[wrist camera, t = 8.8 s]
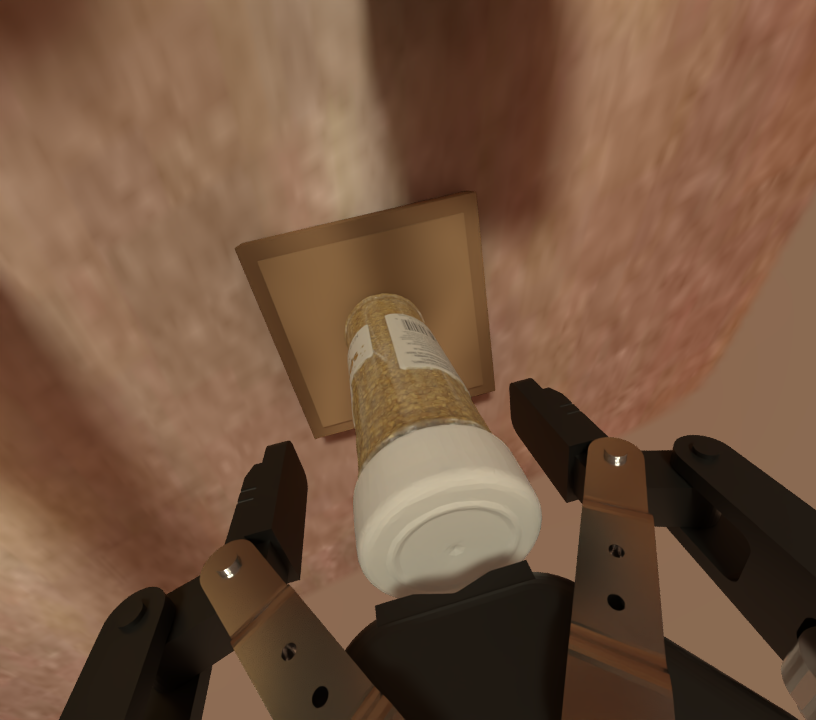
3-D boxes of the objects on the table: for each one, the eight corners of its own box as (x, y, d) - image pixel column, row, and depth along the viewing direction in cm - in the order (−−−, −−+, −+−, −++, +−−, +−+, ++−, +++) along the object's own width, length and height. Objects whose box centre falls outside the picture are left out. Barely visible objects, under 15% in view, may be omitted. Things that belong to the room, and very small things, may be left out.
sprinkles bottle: (326, 322, 19) (312, 555, 7) (397, 273, 19) (501, 440, 7) (375, 380, 21) (424, 632, 10) (439, 338, 21) (575, 550, 9)
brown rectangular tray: (316, 424, 24) (314, 440, 23) (242, 243, 18) (233, 248, 17) (486, 379, 25) (496, 391, 23) (466, 190, 19) (477, 192, 18)
